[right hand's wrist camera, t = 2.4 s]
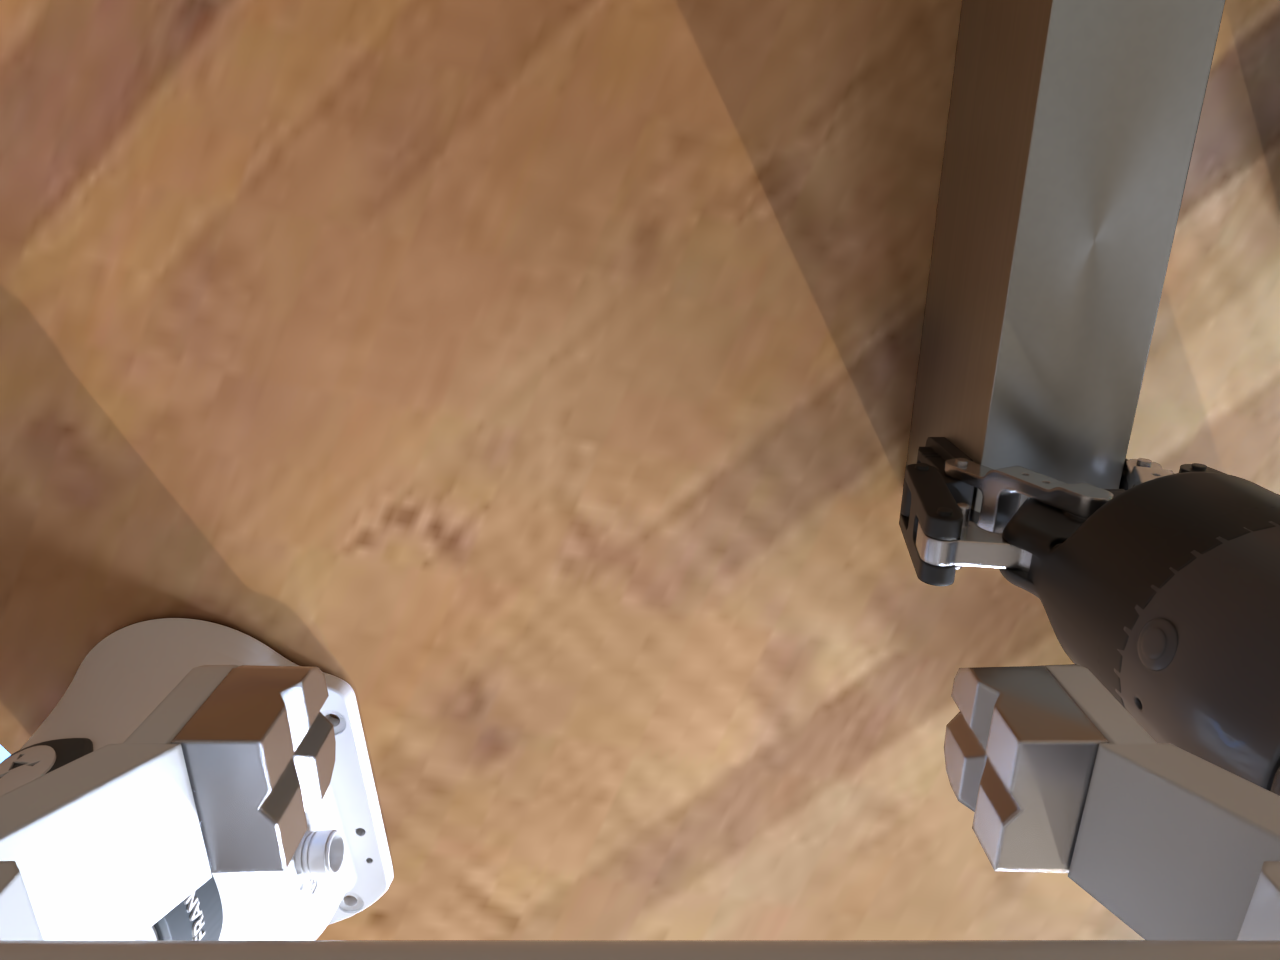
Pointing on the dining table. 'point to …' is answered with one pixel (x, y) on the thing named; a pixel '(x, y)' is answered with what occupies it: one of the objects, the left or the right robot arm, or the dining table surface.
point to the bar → (1057, 227)
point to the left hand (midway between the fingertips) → (1002, 457)
